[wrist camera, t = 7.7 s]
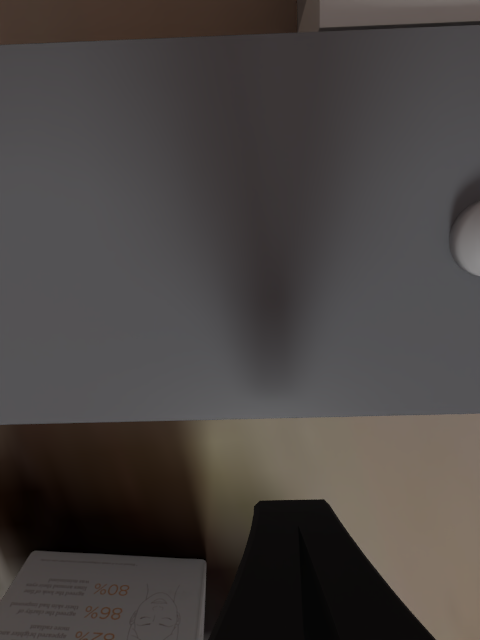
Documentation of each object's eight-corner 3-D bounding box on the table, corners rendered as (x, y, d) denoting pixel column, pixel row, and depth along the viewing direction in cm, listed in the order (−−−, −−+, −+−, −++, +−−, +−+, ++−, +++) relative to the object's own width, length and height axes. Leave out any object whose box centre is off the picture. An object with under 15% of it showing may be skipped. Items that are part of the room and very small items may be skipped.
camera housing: (522, 93, 15) (730, -2, 9) (496, 344, 17) (648, 420, 11) (-25, 114, 15) (-218, 39, 9) (14, 357, 17) (-122, 438, 11)
